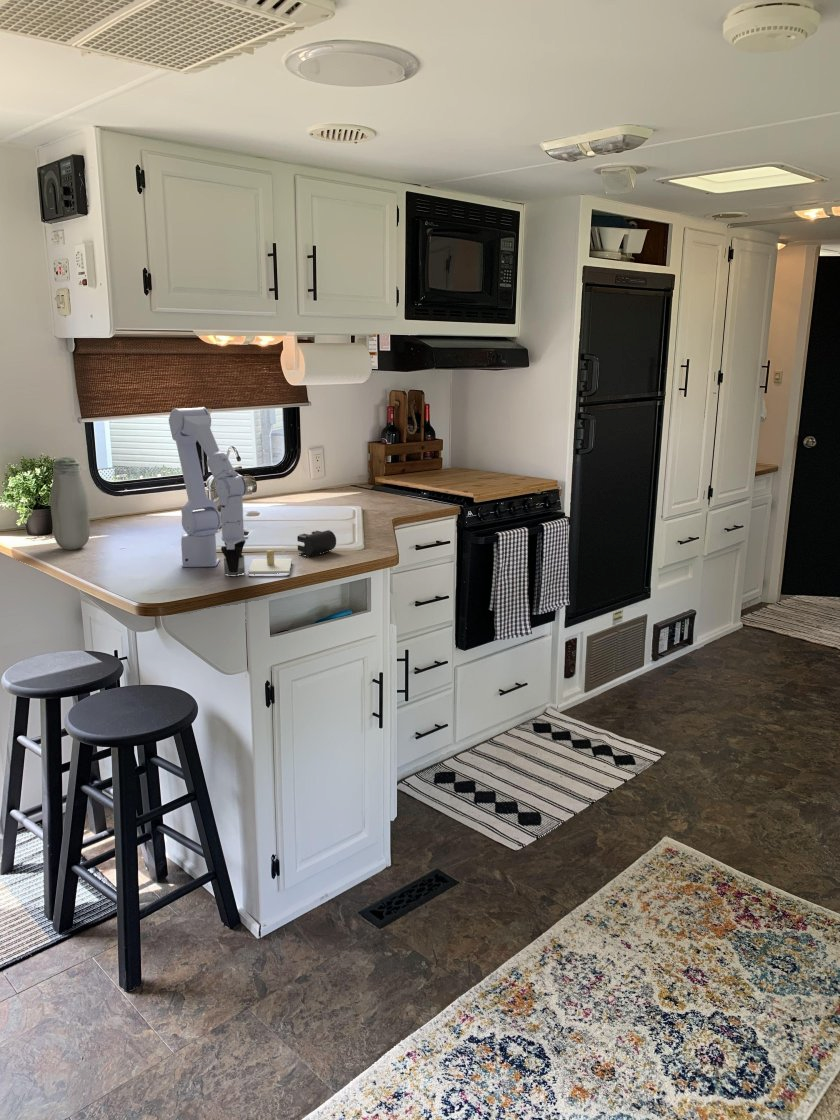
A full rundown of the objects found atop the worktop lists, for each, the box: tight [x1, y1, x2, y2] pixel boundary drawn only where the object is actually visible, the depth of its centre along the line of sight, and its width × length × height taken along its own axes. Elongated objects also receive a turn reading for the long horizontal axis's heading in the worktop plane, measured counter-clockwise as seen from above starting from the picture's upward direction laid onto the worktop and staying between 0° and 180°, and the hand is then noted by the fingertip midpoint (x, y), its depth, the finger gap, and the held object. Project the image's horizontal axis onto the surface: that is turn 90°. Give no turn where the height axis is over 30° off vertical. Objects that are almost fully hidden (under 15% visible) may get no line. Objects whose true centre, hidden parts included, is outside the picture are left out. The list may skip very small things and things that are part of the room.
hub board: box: [247, 549, 293, 575], centre depth 237 cm, size 11×14×6 cm
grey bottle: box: [49, 456, 91, 551], centre depth 256 cm, size 10×10×28 cm
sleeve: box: [223, 554, 246, 575], centre depth 232 cm, size 5×5×5 cm
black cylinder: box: [297, 529, 337, 557], centre depth 255 cm, size 10×7×7 cm
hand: (234, 569), depth 232 cm, fingers closed on sleeve, 5 cm apart
